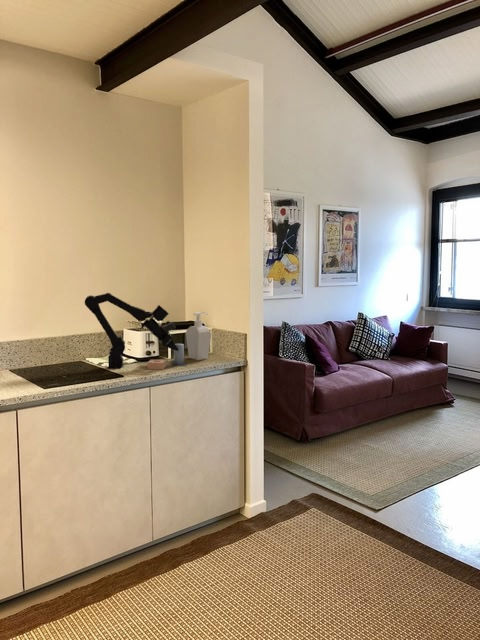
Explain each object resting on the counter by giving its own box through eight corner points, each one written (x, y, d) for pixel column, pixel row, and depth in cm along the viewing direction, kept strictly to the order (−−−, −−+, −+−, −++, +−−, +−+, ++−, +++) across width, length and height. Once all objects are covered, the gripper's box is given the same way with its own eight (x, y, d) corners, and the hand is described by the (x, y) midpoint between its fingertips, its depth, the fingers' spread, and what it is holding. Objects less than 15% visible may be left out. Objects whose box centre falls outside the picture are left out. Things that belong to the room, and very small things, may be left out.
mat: (168, 366, 267) (168, 366, 267) (171, 363, 276) (171, 362, 276) (186, 367, 267) (186, 366, 267) (188, 363, 276) (188, 362, 276)
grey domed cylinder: (173, 365, 269) (173, 345, 268) (174, 363, 274) (174, 343, 273) (183, 365, 269) (183, 345, 268) (184, 363, 274) (184, 343, 273)
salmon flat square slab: (147, 369, 260) (147, 362, 260) (150, 366, 268) (150, 359, 268) (163, 369, 260) (163, 362, 260) (166, 366, 268) (166, 359, 268)
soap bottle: (213, 359, 288) (213, 312, 285) (198, 361, 282) (198, 313, 279) (200, 355, 297) (200, 310, 294) (185, 358, 291) (185, 311, 288)
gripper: (167, 318, 258) (190, 340, 262) (164, 314, 276) (185, 334, 280) (152, 335, 257) (174, 356, 261) (149, 329, 275) (170, 349, 279)
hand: (176, 348), depth 271 cm, fingers open, 9 cm apart
